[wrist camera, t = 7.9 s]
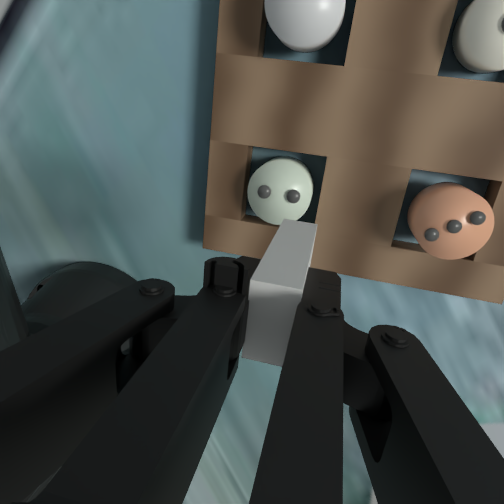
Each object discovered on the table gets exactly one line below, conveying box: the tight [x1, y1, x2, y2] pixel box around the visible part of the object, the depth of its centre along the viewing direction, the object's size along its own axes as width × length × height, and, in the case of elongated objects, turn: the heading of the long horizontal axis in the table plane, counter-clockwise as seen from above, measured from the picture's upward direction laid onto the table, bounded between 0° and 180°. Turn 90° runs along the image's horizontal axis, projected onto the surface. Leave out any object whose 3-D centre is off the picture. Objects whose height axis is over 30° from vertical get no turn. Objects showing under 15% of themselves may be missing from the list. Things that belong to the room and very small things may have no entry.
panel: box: [203, 0, 504, 304], centre depth 27 cm, size 24×24×2 cm
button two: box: [247, 156, 314, 225], centre depth 29 cm, size 5×5×3 cm
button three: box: [407, 182, 494, 260], centre depth 26 cm, size 5×5×3 cm
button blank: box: [264, 0, 346, 53], centre depth 23 cm, size 5×5×3 cm
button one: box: [452, 0, 504, 73], centre depth 23 cm, size 5×5×3 cm
